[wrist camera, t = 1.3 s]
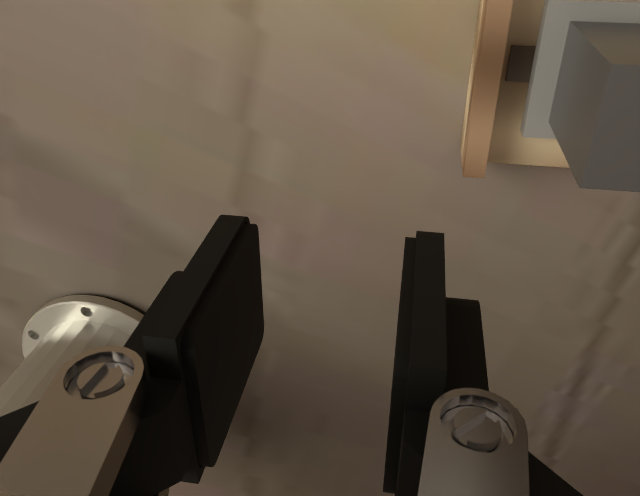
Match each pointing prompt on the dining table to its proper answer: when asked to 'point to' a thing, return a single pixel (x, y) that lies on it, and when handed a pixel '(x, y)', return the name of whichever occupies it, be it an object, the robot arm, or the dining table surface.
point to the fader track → (503, 90)
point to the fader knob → (589, 89)
